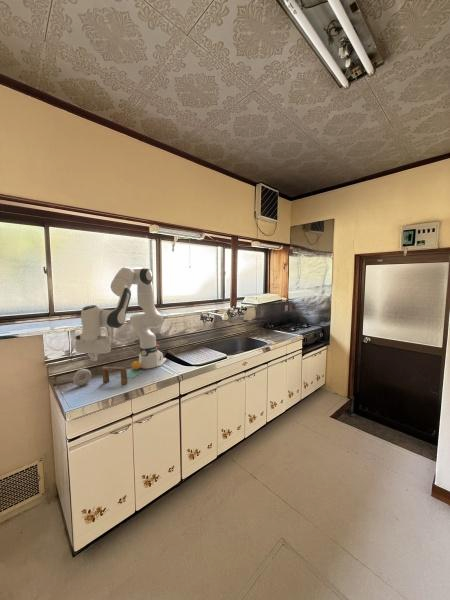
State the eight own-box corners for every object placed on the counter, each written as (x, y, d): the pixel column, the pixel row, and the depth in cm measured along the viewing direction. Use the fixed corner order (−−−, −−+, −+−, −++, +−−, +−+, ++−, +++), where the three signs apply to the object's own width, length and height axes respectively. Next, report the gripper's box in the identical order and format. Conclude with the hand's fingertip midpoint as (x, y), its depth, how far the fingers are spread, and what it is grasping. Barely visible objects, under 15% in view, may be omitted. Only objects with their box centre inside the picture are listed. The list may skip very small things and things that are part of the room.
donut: (74, 388, 143) (73, 372, 142) (72, 387, 145) (71, 370, 144) (92, 383, 150) (91, 367, 149) (91, 381, 152) (89, 366, 151)
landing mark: (128, 369, 171) (128, 369, 171) (144, 370, 168) (144, 370, 168) (115, 377, 159) (115, 376, 159) (133, 378, 155) (133, 377, 155)
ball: (133, 371, 172) (136, 363, 176) (140, 371, 170) (143, 363, 174) (128, 367, 167) (131, 359, 171) (136, 367, 166) (138, 359, 170)
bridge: (106, 381, 152) (105, 366, 151) (127, 382, 148) (126, 367, 148) (103, 383, 149) (101, 367, 148) (124, 385, 146) (123, 369, 145)
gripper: (112, 334, 132) (114, 359, 133) (81, 334, 137) (83, 358, 138) (104, 337, 126) (106, 363, 127) (71, 336, 131) (74, 361, 132)
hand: (94, 360), depth 133 cm, fingers closed
